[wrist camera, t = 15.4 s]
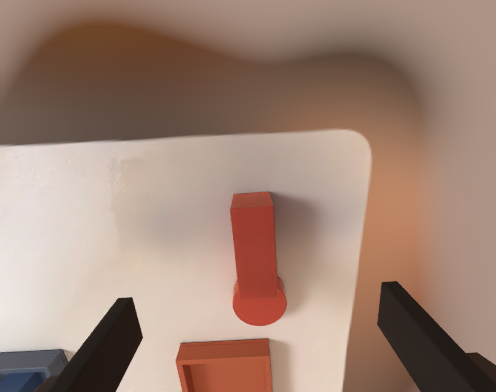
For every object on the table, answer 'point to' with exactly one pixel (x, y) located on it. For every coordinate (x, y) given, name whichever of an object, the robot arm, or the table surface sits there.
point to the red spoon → (256, 260)
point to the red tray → (225, 366)
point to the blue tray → (33, 363)
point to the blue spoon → (20, 382)
